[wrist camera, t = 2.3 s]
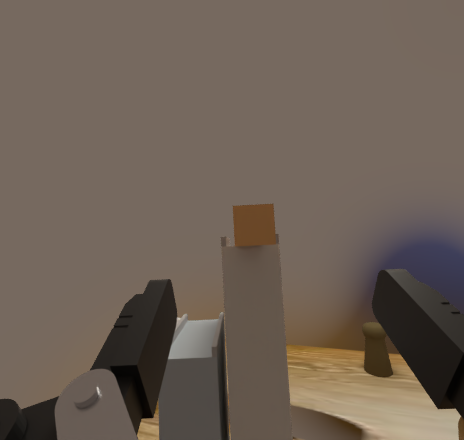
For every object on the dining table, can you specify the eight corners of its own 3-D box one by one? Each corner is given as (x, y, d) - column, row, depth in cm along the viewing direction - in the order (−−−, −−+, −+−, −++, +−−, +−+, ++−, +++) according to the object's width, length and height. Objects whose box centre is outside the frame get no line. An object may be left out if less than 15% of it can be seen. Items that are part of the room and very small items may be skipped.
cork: (363, 373, 60) (358, 325, 61) (364, 362, 66) (360, 318, 67) (393, 379, 57) (388, 328, 58) (392, 367, 63) (387, 321, 64)
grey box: (227, 594, 24) (216, 346, 26) (163, 595, 24) (157, 349, 26) (231, 470, 36) (223, 312, 39) (189, 471, 37) (184, 314, 39)
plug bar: (276, 244, 19) (273, 203, 19) (235, 246, 19) (232, 205, 19) (256, 244, 38) (255, 224, 39) (236, 245, 38) (235, 225, 39)
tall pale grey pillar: (303, 591, 23) (278, 234, 27) (238, 593, 24) (221, 237, 27) (280, 468, 36) (265, 237, 40) (238, 469, 36) (226, 239, 40)
